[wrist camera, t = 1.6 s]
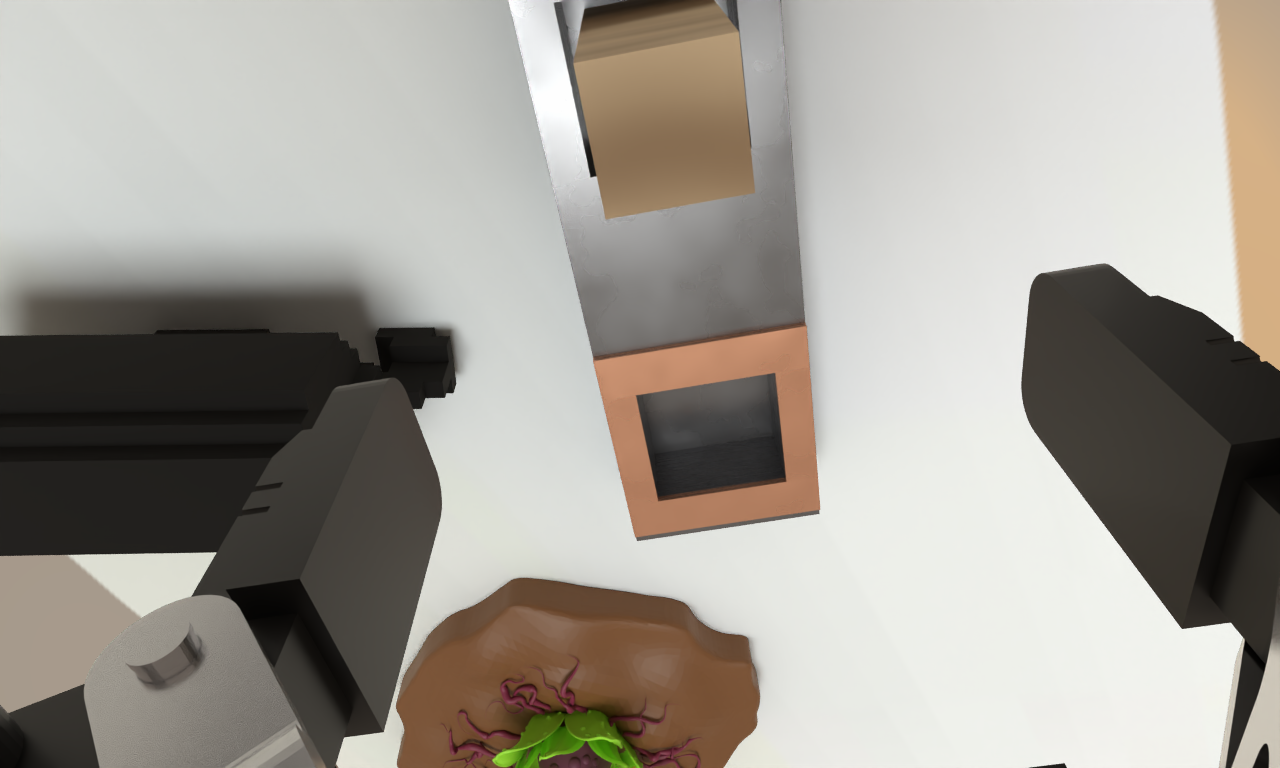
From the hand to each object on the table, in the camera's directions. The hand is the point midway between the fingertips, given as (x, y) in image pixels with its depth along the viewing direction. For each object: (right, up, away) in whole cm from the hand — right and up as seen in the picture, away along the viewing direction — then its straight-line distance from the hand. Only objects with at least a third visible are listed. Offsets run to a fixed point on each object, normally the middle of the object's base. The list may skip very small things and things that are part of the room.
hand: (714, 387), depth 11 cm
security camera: (-18, +1, +25) cm, 31 cm away
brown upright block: (0, +11, +18) cm, 21 cm away
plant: (-5, -18, +38) cm, 42 cm away
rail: (+1, +6, +22) cm, 23 cm away
